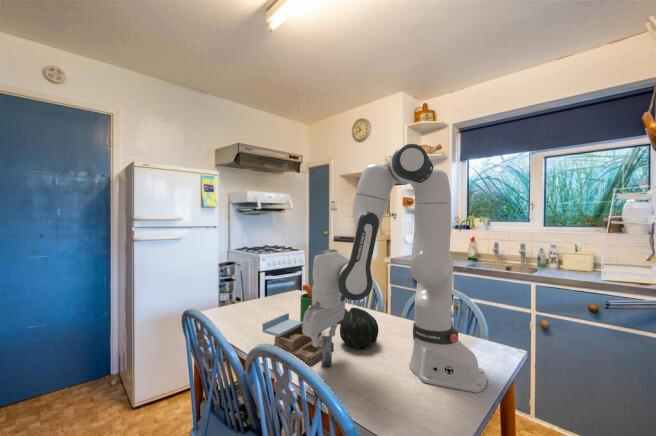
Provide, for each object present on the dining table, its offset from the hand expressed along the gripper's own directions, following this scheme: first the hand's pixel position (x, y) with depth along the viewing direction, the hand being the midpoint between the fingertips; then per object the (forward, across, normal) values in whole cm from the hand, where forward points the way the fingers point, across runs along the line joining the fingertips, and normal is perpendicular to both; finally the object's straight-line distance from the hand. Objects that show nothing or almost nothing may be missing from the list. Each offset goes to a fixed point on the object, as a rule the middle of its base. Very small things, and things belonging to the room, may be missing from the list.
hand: (324, 340), depth 98 cm
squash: (+8, +20, -3) cm, 22 cm away
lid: (+2, +4, +21) cm, 22 cm away
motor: (+9, +19, +19) cm, 28 cm away
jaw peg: (+8, 0, -1) cm, 8 cm away
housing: (+8, +4, +11) cm, 14 cm away
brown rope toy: (+9, +38, +20) cm, 44 cm away
